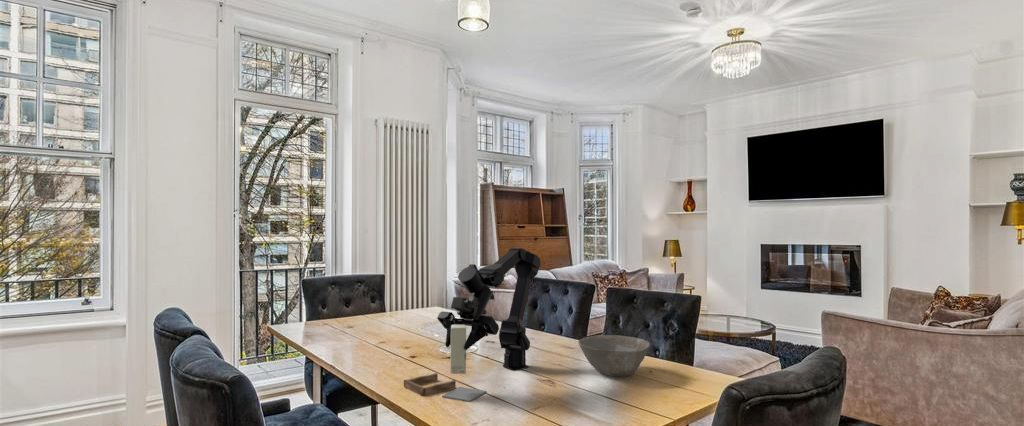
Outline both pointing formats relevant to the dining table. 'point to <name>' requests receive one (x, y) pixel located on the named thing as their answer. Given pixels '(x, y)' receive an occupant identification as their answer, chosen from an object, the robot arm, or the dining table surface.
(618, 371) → the ceramic bowl
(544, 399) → the dining table surface
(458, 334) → the box
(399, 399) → the dining table surface
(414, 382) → the cradle
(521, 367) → the robot arm
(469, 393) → the coaster
